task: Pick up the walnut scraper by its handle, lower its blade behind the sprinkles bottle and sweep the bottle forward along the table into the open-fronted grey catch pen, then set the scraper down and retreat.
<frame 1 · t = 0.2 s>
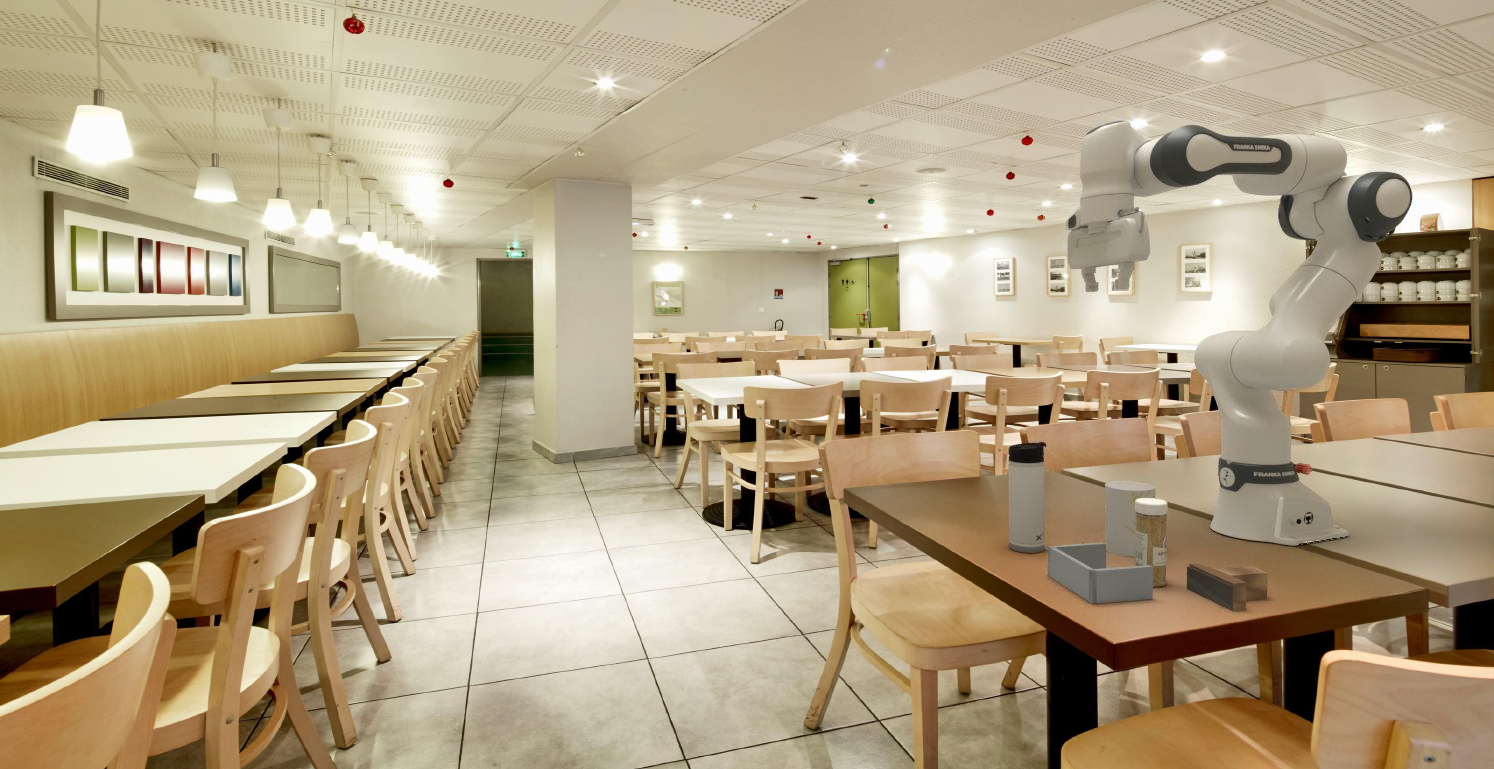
hand: (1106, 290, 136), 47 cm above the table, tool pointing down, fingers open, 8 cm apart
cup: (1129, 551, 135), on the table
scraper: (1240, 596, 111), on the table
catch pen: (1097, 586, 117), on the table
travel mug: (1027, 549, 138), on the table
sprinkles bottle: (1150, 583, 118), on the table
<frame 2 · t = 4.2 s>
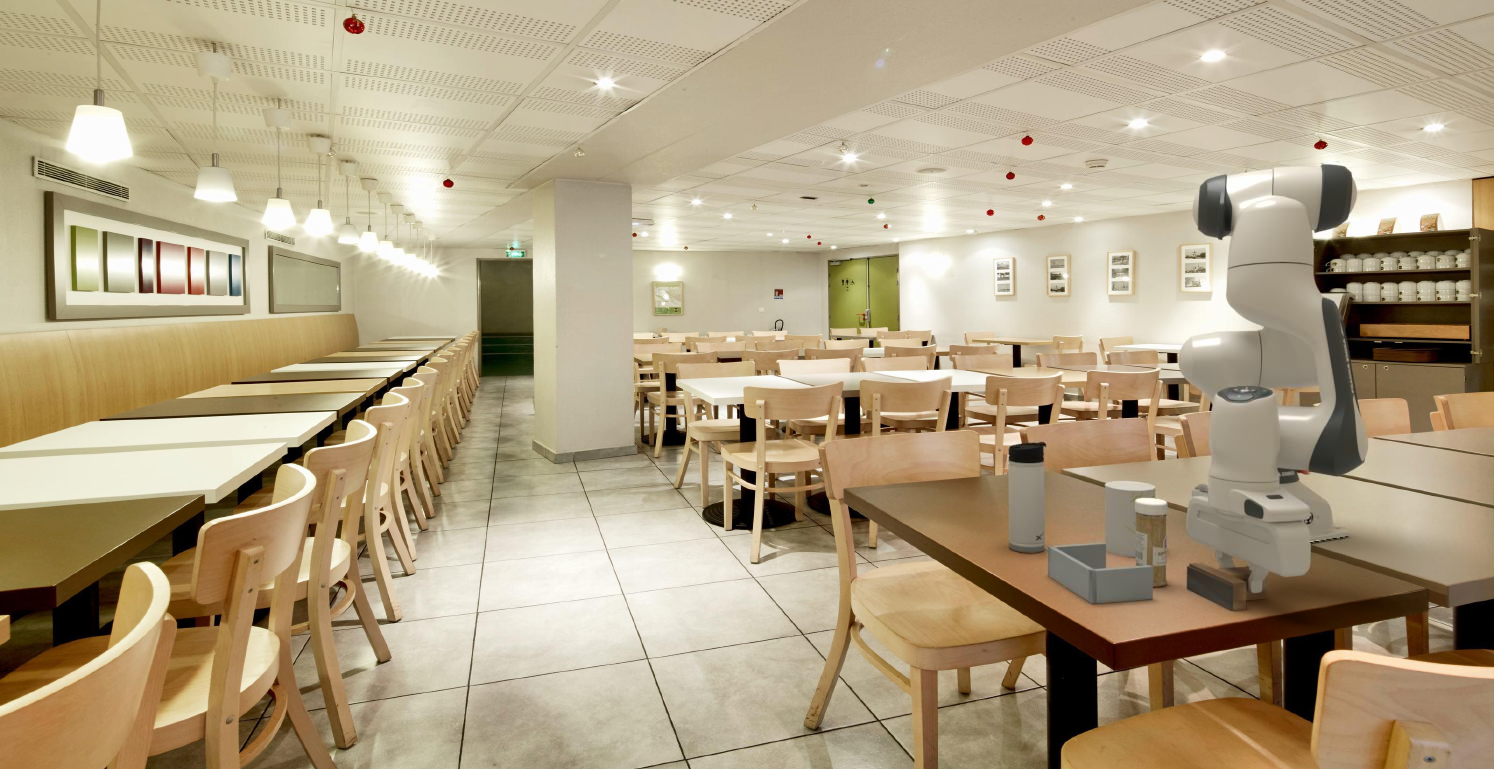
hand: (1241, 585, 111), 2 cm above the table, tool pointing down, fingers closed on scraper, 3 cm apart
scraper: (1240, 596, 111), on the table, touching gripper
everything else where it was.
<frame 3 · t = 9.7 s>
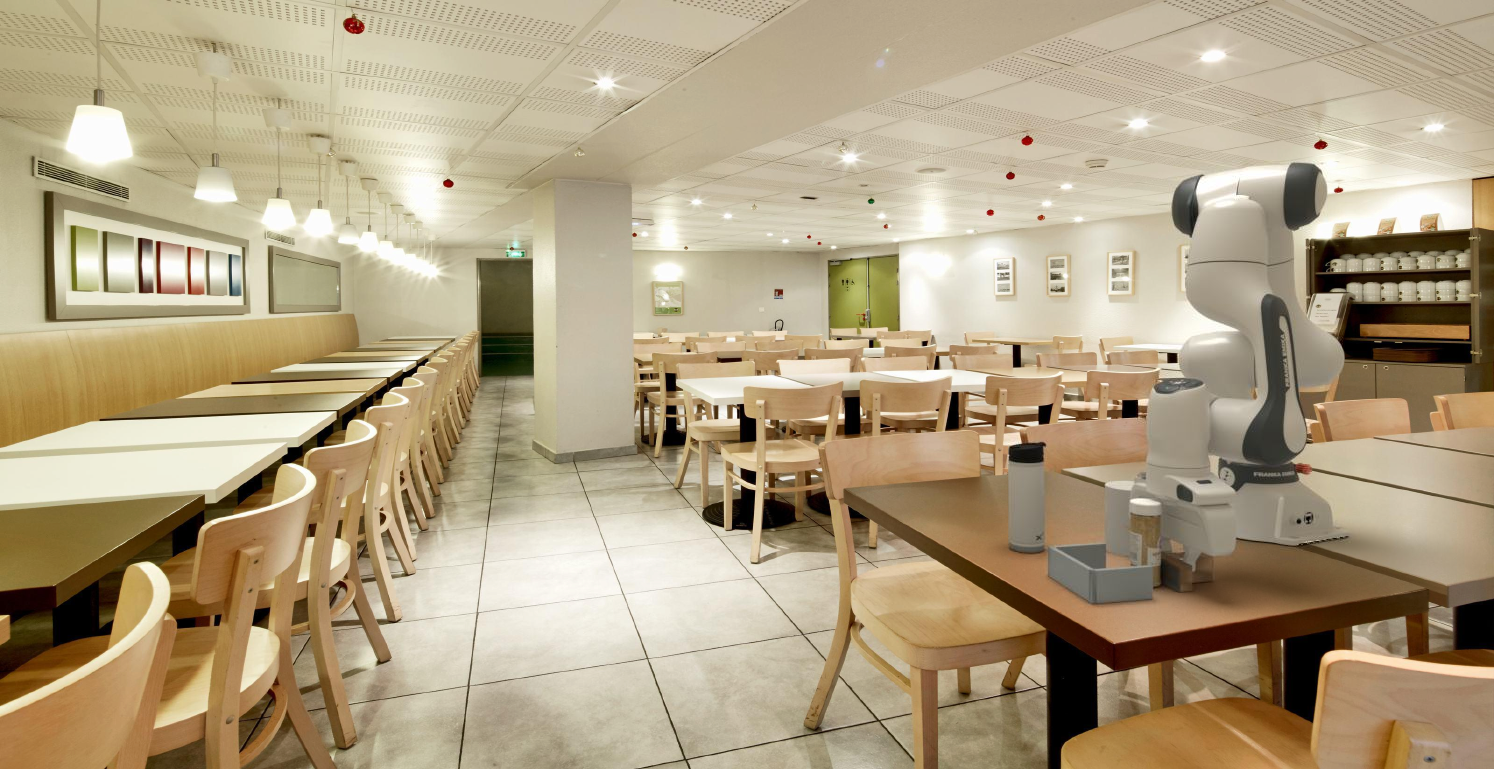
hand: (1177, 566, 118), 2 cm above the table, tool pointing down, fingers closed on scraper, 3 cm apart
scraper: (1189, 579, 119), on the table, touching gripper
sprinkles bottle: (1145, 584, 118), on the table
everything else where it was.
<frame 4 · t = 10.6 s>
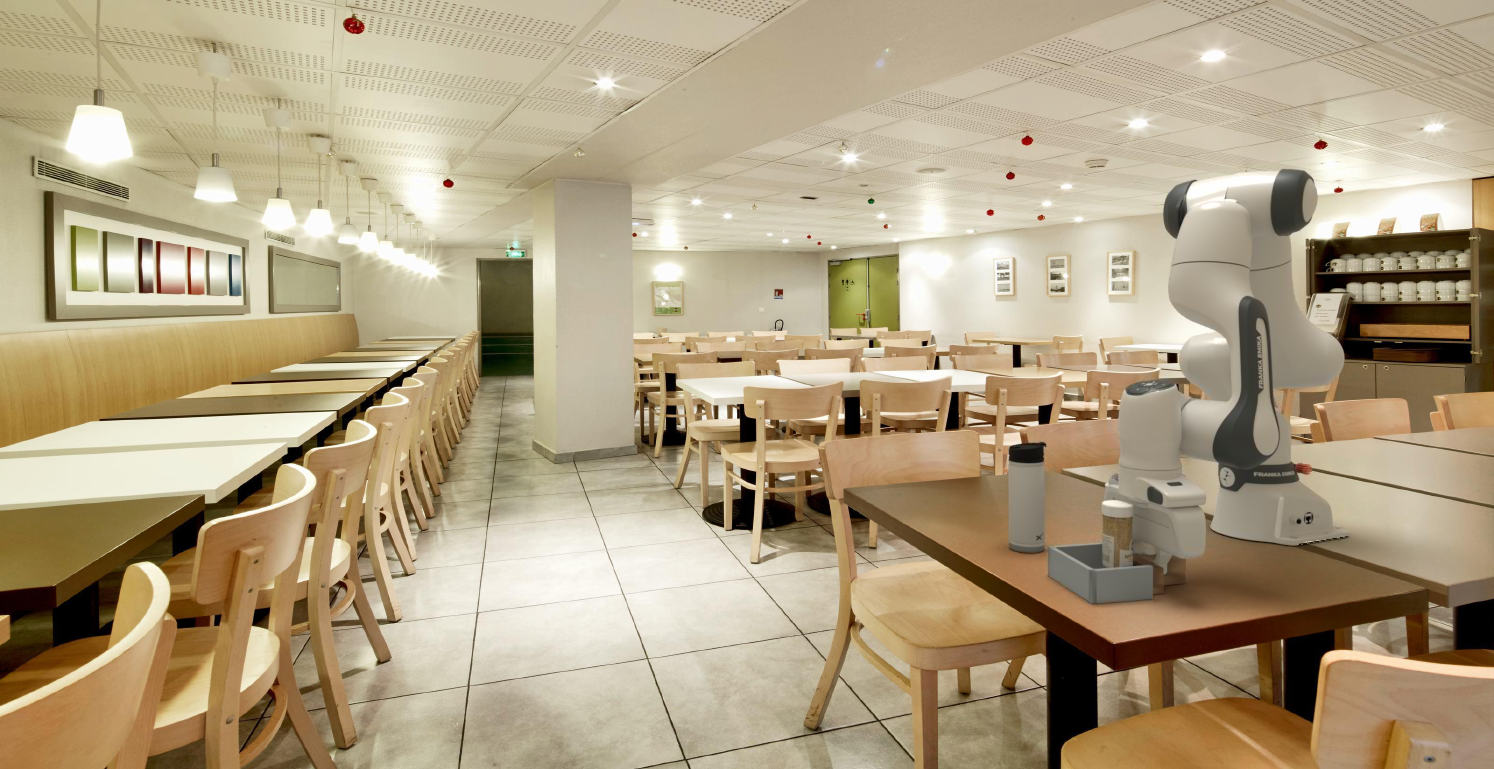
hand: (1149, 568, 118), 2 cm above the table, tool pointing down, fingers closed on scraper, 3 cm apart
scraper: (1162, 581, 118), on the table, touching gripper, sprinkles bottle
sprinkles bottle: (1117, 586, 118), on the table, touching scraper
everything else where it was.
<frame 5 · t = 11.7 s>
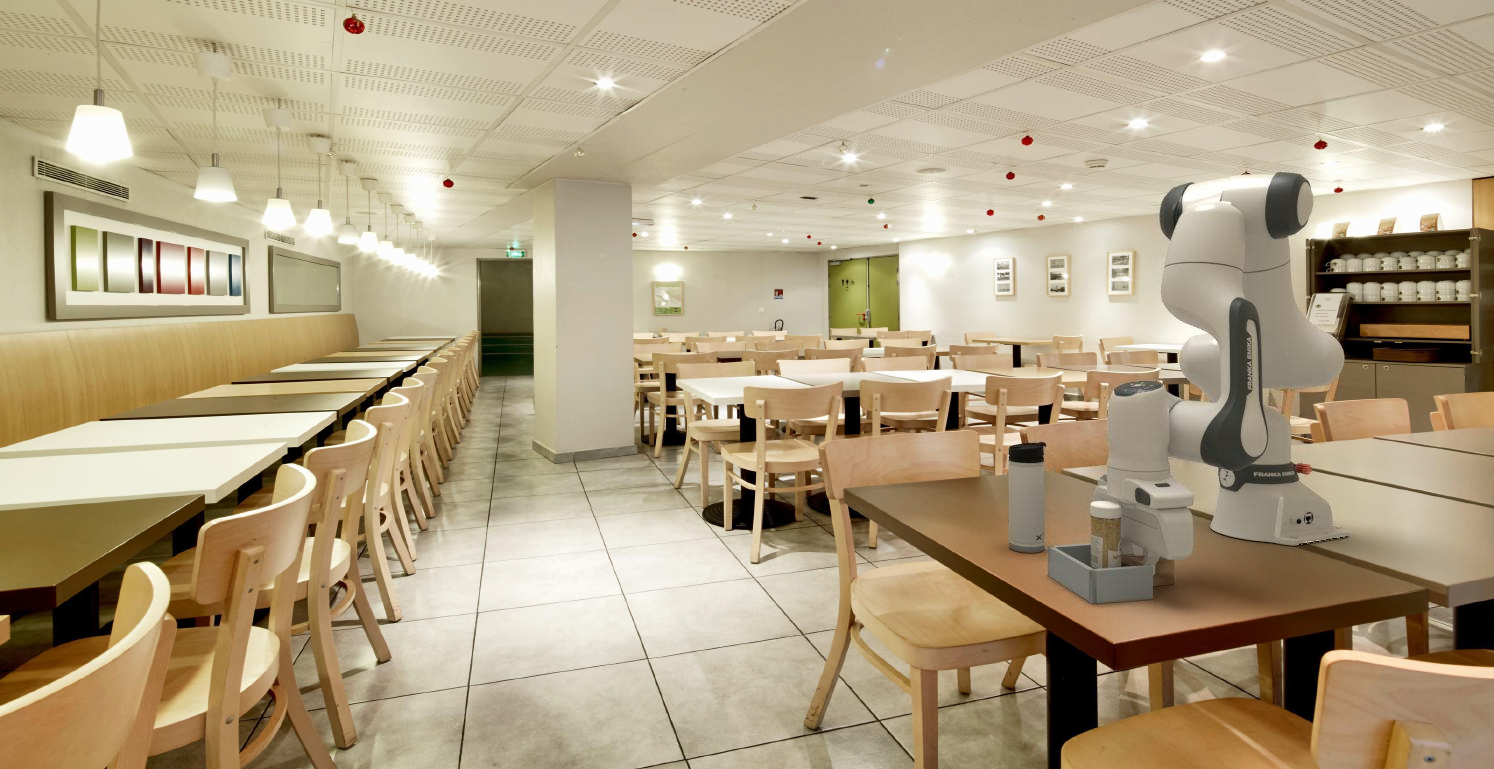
hand: (1137, 569, 118), 2 cm above the table, tool pointing down, fingers closed on scraper, 3 cm apart
scraper: (1150, 582, 118), on the table, touching gripper, sprinkles bottle
sprinkles bottle: (1105, 587, 117), on the table, touching scraper
everything else where it was.
when the fingers open (2 cm above the table, at t = 13.2 s): scraper stays where it is, on the table.
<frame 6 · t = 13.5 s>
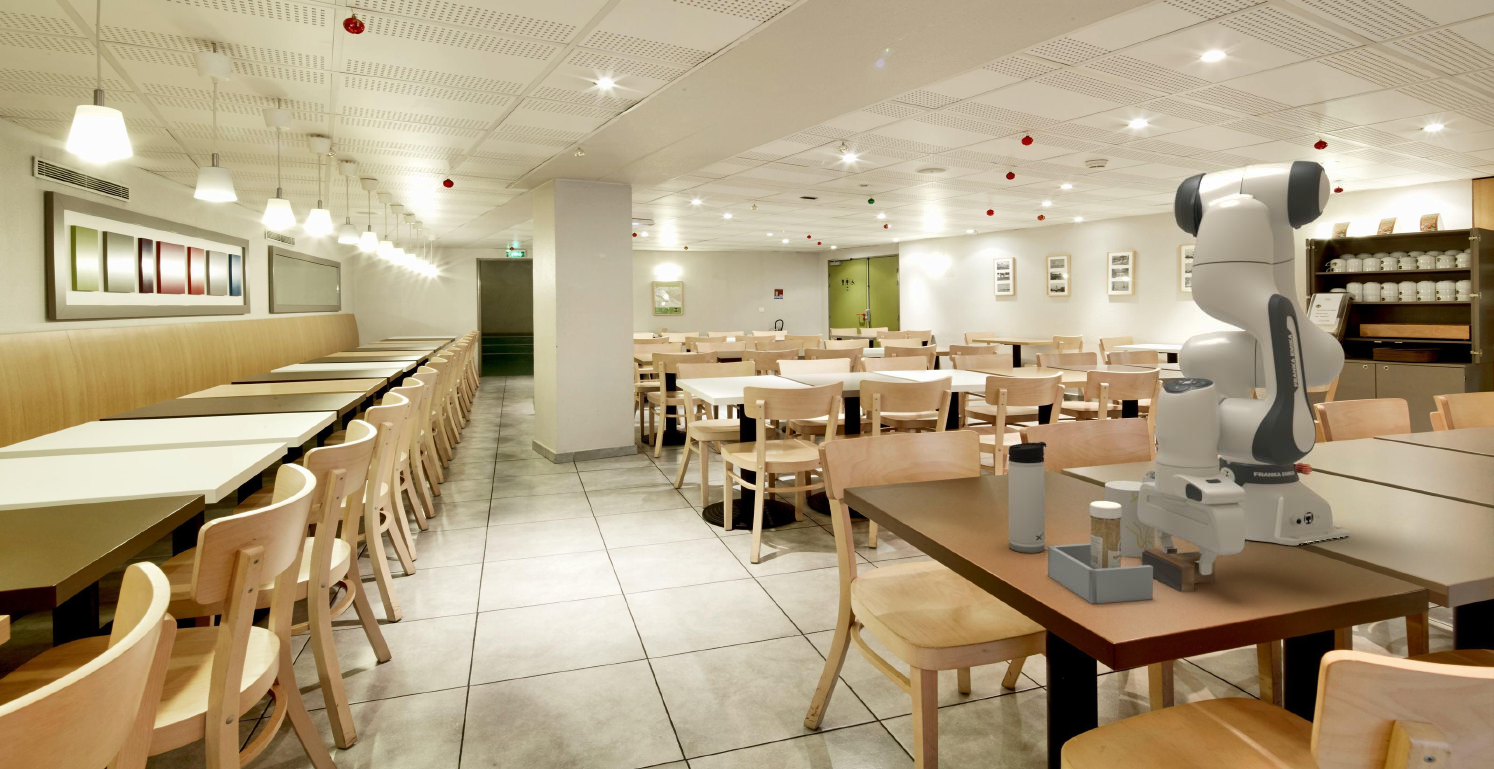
hand: (1185, 565, 119), 2 cm above the table, tool pointing down, fingers open, 6 cm apart
scraper: (1191, 579, 119), on the table
sprinkles bottle: (1105, 587, 117), on the table
everything else where it was.
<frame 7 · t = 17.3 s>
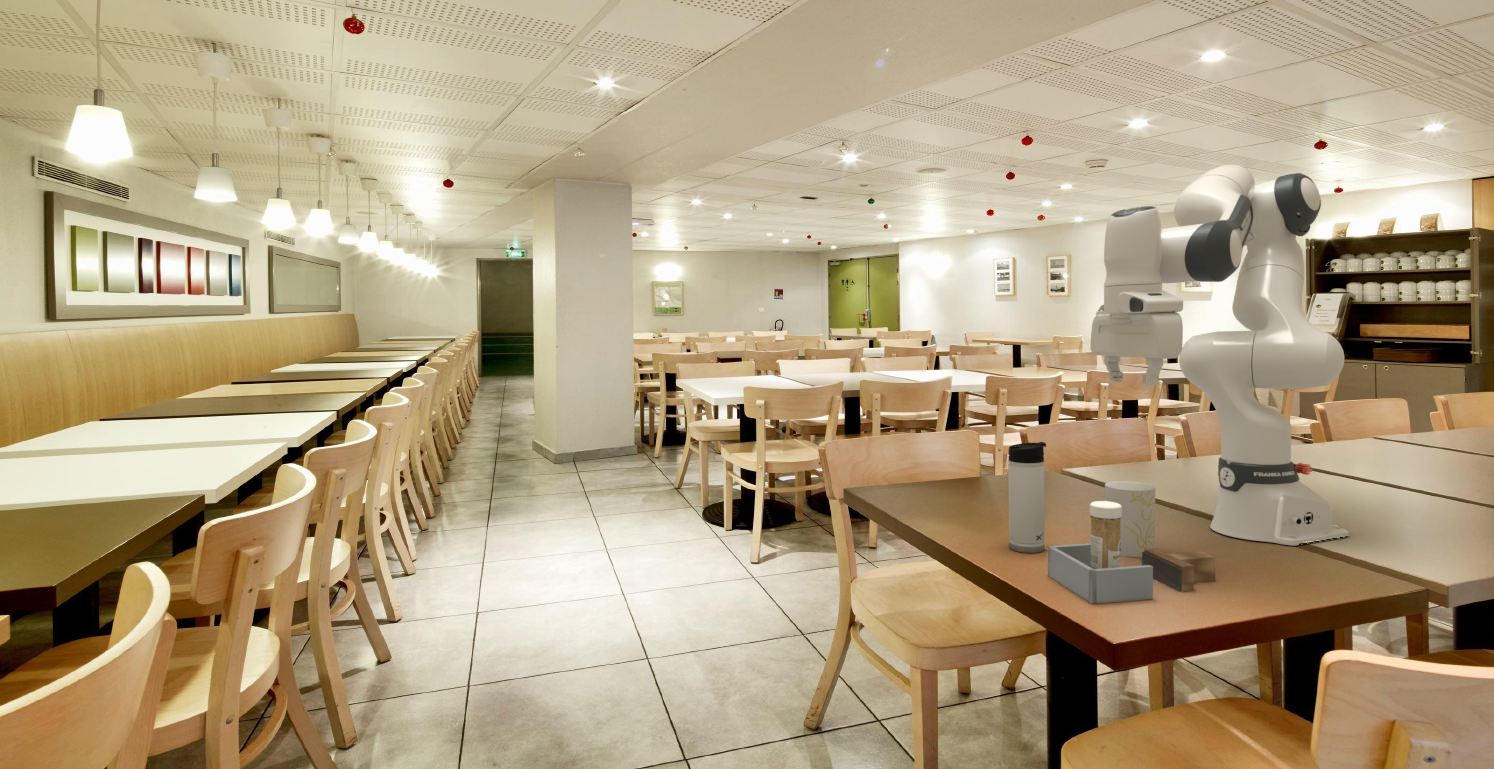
hand: (1132, 383, 127), 31 cm above the table, tool pointing down, fingers open, 8 cm apart
nothing on the table moved.
at the end: sprinkles bottle inside the target area (1.7 cm from its centre), on the table; sprinkles bottle moved 7.8 cm from its start; the gripper is holding nothing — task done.
